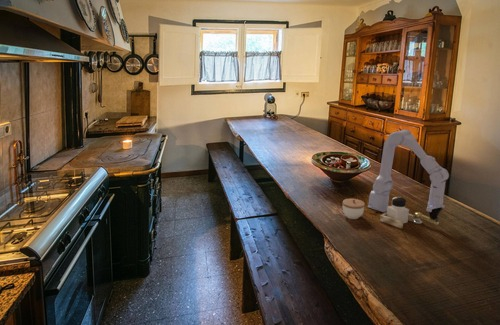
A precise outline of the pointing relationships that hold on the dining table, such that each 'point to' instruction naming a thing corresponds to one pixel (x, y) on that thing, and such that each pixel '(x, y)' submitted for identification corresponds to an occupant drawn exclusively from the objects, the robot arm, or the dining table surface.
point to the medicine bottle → (398, 210)
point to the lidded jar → (353, 208)
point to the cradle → (394, 220)
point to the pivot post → (417, 221)
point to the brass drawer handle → (427, 218)
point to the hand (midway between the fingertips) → (432, 221)
